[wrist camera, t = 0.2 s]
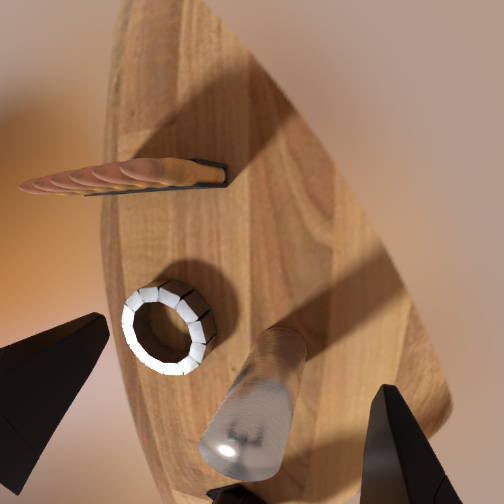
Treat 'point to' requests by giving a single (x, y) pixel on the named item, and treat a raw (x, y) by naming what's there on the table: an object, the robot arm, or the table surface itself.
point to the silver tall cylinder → (257, 409)
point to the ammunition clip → (132, 177)
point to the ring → (189, 310)
